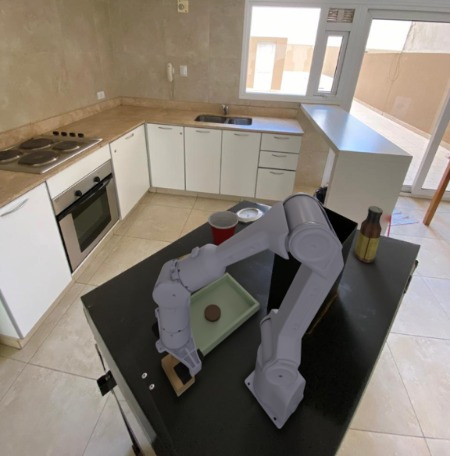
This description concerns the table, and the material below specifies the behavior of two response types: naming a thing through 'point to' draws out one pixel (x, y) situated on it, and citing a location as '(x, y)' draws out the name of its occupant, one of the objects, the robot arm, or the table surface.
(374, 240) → the sauce bottle
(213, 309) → the grime patch
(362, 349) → the table surface
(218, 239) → the plastic cup
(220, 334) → the tray
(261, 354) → the robot arm
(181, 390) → the wooden stamp
